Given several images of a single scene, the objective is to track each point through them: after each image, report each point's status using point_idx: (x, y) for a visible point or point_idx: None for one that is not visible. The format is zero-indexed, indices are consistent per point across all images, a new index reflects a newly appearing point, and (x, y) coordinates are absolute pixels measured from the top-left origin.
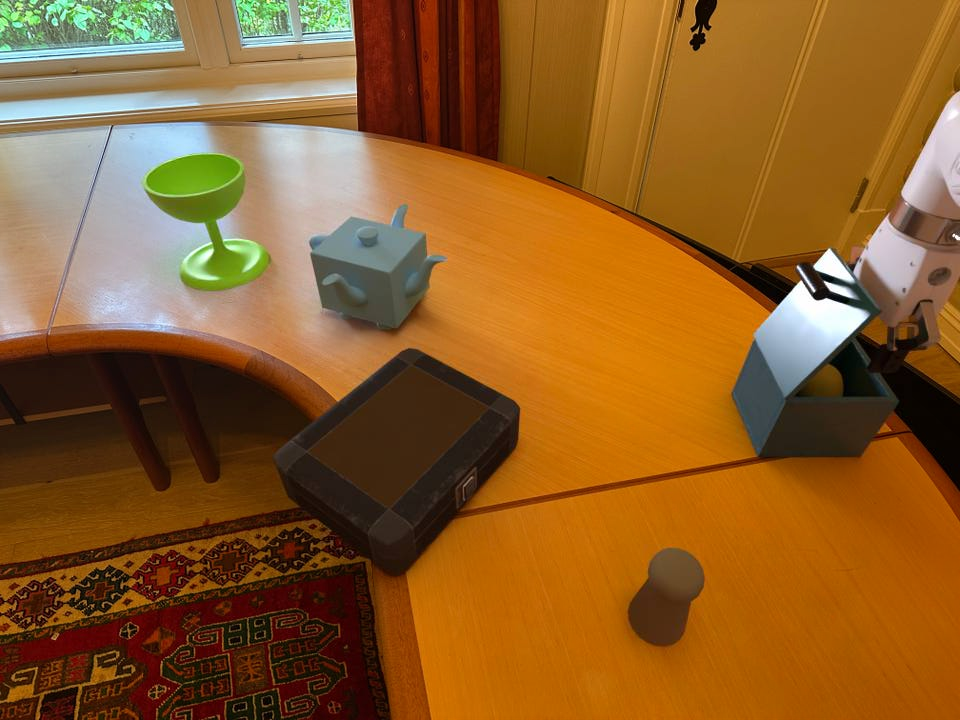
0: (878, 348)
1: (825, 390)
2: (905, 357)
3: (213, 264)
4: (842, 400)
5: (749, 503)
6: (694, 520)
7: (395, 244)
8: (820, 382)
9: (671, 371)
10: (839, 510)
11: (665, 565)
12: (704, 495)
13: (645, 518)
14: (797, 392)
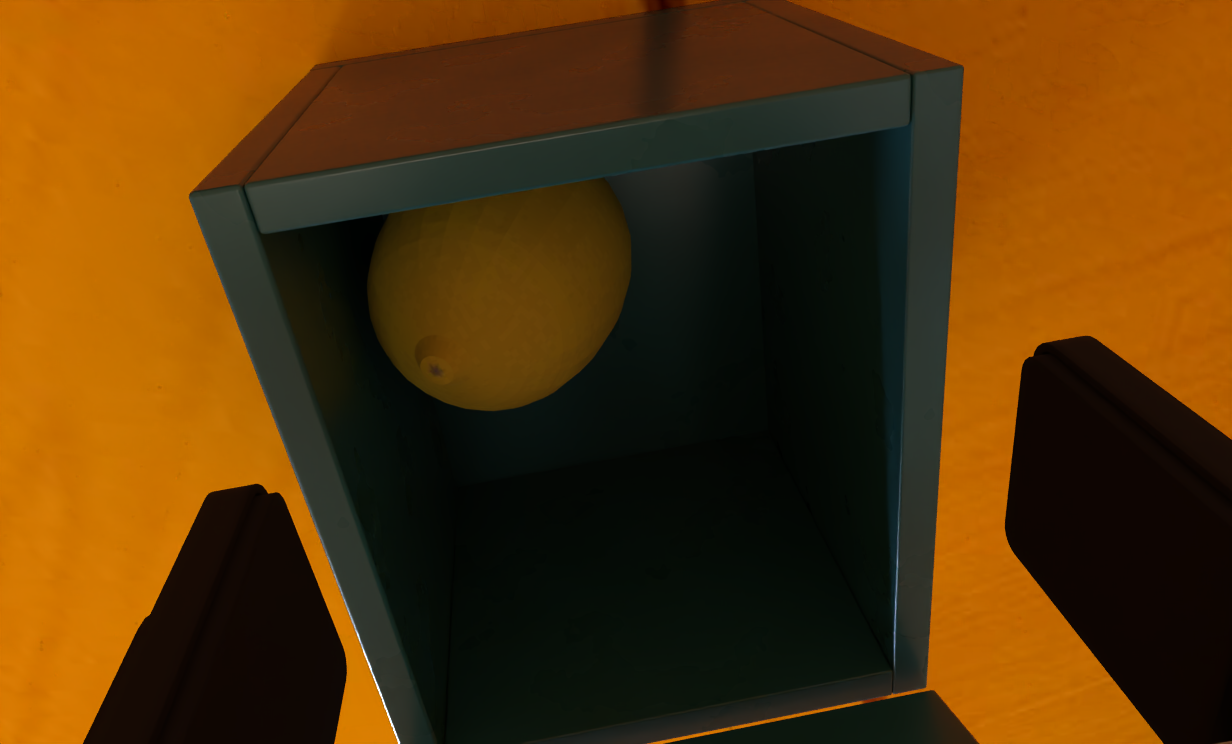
0: (1151, 726)
1: (611, 318)
2: (1224, 436)
3: None
4: (933, 440)
5: (982, 474)
6: (1025, 614)
7: None
8: (578, 361)
9: (359, 682)
10: (1041, 178)
11: None
12: (942, 590)
13: (1006, 714)
14: (960, 722)
